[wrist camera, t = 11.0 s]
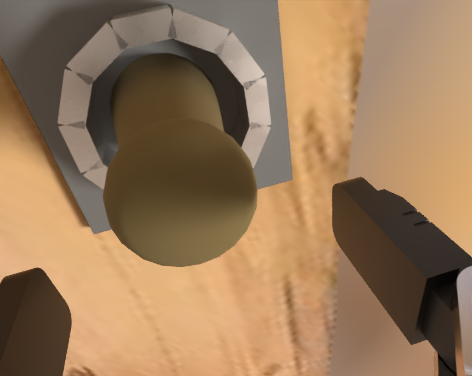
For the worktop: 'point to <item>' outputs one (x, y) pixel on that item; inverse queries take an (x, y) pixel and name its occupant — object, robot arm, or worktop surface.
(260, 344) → the worktop surface
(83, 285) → the worktop surface
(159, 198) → the cork
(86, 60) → the ring collar
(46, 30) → the fitting mat
